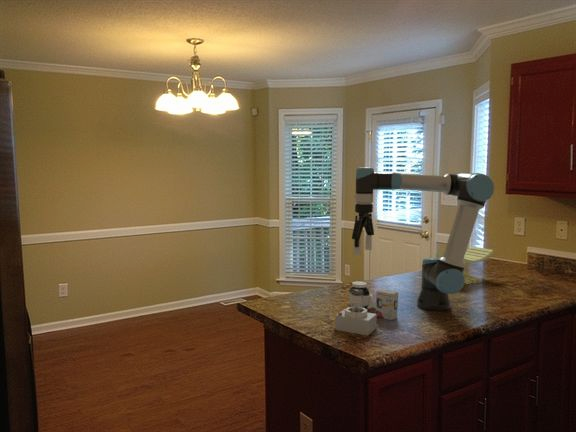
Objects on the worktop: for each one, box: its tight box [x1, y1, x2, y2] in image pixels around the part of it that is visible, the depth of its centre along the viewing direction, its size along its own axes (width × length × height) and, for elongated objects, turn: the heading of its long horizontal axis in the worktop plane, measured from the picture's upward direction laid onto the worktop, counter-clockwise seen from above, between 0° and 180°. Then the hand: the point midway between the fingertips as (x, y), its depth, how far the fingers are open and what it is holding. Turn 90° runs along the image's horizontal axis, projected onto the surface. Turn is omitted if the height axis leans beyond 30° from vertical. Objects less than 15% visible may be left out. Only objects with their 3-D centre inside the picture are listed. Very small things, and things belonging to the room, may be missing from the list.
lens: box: [350, 289, 363, 312], centre depth 198 cm, size 5×5×10 cm
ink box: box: [374, 288, 399, 321], centre depth 214 cm, size 9×5×12 cm, turn 50°
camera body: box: [334, 306, 378, 336], centre depth 199 cm, size 14×10×8 cm
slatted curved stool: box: [435, 246, 494, 285], centre depth 283 cm, size 30×16×18 cm, turn 122°
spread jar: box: [348, 280, 376, 310], centre depth 229 cm, size 12×11×12 cm
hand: (362, 252), depth 213 cm, fingers open, 13 cm apart
